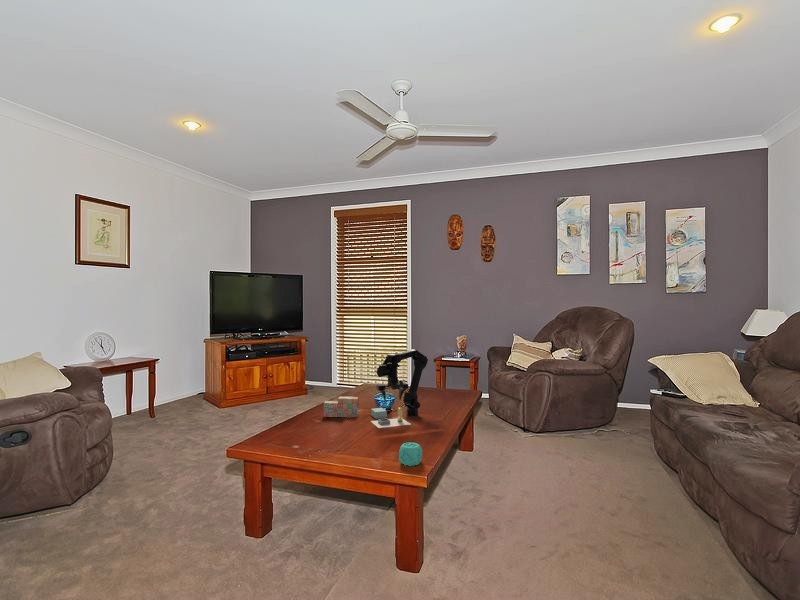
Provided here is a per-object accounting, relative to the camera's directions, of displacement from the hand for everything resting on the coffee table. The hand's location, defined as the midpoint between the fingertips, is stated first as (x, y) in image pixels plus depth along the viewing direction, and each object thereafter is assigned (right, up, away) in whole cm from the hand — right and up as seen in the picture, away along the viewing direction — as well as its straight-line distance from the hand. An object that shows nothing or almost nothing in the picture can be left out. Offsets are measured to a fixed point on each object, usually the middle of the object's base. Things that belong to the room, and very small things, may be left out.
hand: (392, 401), depth 262 cm
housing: (-9, -13, +8) cm, 17 cm away
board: (-1, -13, -6) cm, 14 cm away
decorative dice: (+9, -13, -66) cm, 67 cm away
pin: (+5, -11, -4) cm, 13 cm away
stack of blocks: (-33, -13, +13) cm, 37 cm away
